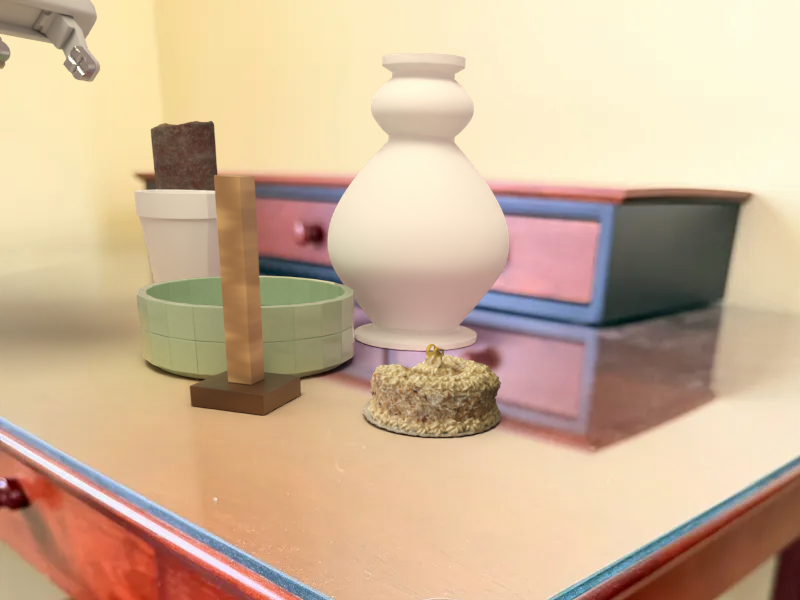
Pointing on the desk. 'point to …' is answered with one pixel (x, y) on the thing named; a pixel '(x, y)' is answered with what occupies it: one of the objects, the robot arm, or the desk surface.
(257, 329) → the wooden post stand
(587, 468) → the desk surface
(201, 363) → the bowl
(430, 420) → the cake
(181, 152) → the dark brown tall block
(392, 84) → the decorative vase
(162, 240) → the white flower pot
